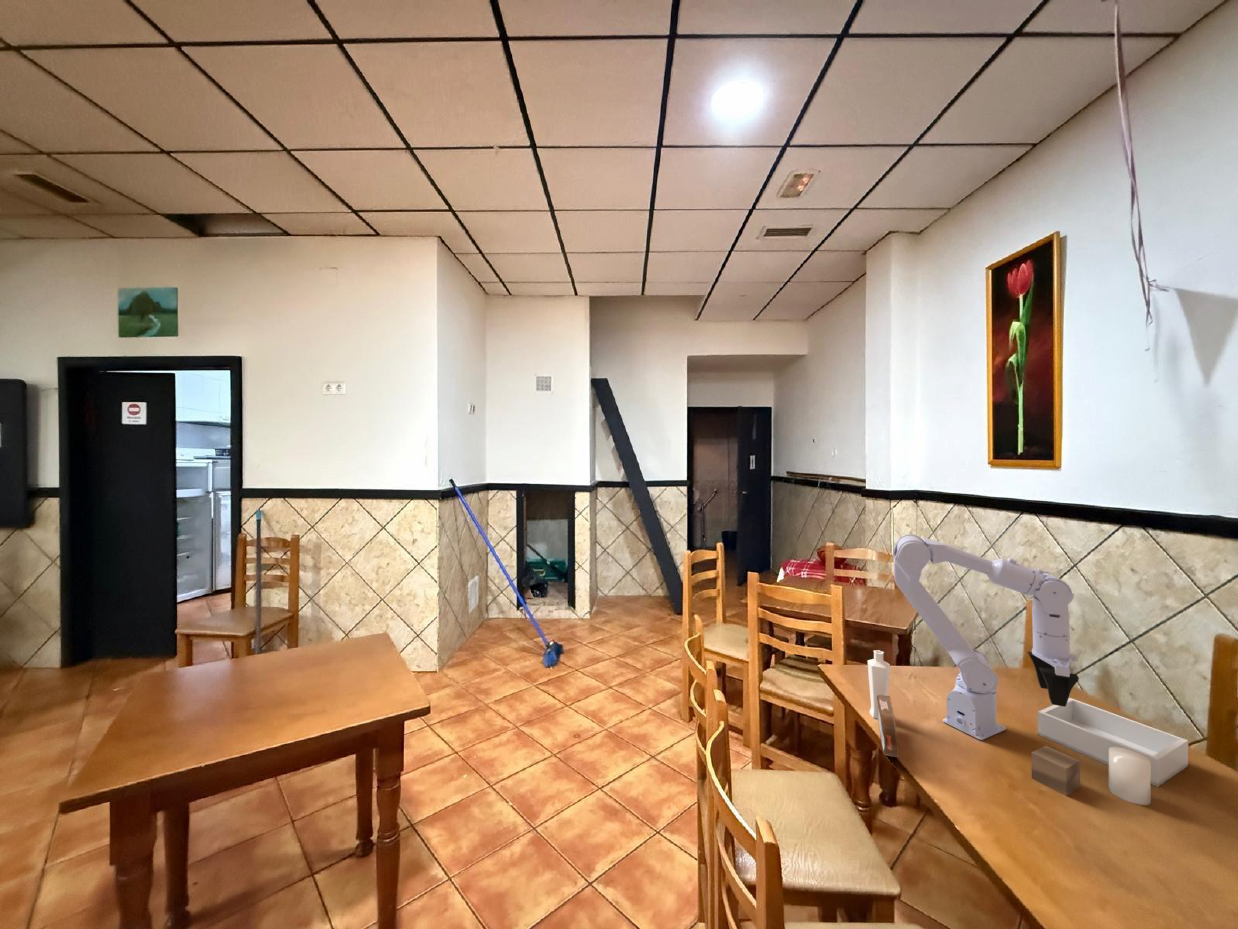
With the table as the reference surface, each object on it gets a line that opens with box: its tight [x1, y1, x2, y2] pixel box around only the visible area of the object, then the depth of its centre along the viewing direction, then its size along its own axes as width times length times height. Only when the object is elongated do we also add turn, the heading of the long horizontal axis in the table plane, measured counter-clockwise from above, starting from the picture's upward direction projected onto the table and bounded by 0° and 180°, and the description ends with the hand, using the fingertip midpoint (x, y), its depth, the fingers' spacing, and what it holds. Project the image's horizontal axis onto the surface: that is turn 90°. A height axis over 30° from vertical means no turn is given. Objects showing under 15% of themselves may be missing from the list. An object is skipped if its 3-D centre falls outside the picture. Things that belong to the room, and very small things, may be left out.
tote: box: [1037, 697, 1189, 788], centre depth 95 cm, size 14×18×5 cm
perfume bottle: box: [867, 649, 891, 720], centre depth 108 cm, size 5×4×15 cm
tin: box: [877, 695, 900, 759], centre depth 97 cm, size 15×3×8 cm, turn 155°
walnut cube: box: [1031, 745, 1081, 797], centre depth 85 cm, size 5×5×5 cm
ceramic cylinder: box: [1108, 747, 1152, 806], centre depth 82 cm, size 5×5×7 cm
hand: (1052, 696), depth 97 cm, fingers open, 7 cm apart
